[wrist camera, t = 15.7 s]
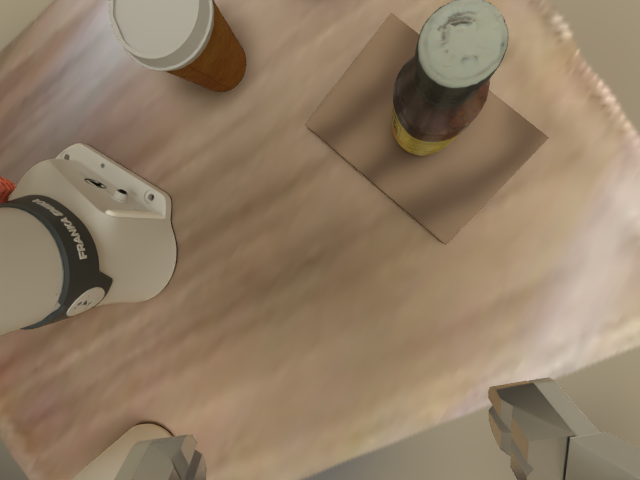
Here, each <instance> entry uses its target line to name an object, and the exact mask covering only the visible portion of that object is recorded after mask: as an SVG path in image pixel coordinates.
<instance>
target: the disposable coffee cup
mask: <svg viewBox="0 0 640 480" xmlns="http://www.w3.org/2000/svg"><path fill="white" fill-rule="evenodd" d="M109 14H110V22H111V25H112V28H113V31H114V33H115V35H116V37H117V39H118V40H119V42H120V43H121V44H122V45H123V47H124V49H125V51H126V52H127V53H128V55H129V56H130V57H131V58H132V59H133V60H134V61H136V62H137V63H138V64H140V65H141V66H143V67H146V68H149V69H151V70H156V71H166V72H169V73H171V74H174V75H176V76H179V77H181V78H184V79H186V80H188V81H191V82H193V83H196V84H198V85H201V86H203V87H206V88H208V89H210V90H213V91H217V92H225V91H228V90H230V89H232V88H234V87H235V86H236V85H237V84H238V83H239V82H240V81H241V79H242V77H243V75H244V73H245V68H246V57H245V53H244V51H243V48H242V47H241V45H240V44H239V42H238V41H237V39H236V37H235V35H234V34H233V32H232V30H231V29H230V27H229V26H228V24H227V22H226V21H225V19H224V17H223V16H222V14H221V12H220V11H219V9H218V7H217V6H216V4H215V2H214V1H213V0H109Z"/></svg>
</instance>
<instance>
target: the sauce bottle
mask: <svg viewBox="0 0 640 480" xmlns="http://www.w3.org/2000/svg"><path fill="white" fill-rule="evenodd" d="M507 46H508V28H507V25H506V23H505V20H504V18H503V16H502V15H501V13H500V12H499V10H498V9H497V8H496V7H495V6H493V5H492V4H491V3H489V2H486V1H484V0H455V1H452V2H450V3H448V4H446V5H444V6H442V7H440V8H439V9H438V10H437V11H435V12H434V13H433V14H432V15H431V16H430V18H429V19H428V20H427V21H426V23H425V24H424V26H423V27H422V29H421V32H420V35H419V38H418V42H417V45H416V50H415V56H413V57H412V58H411V59H409V60H408V61H407V62H406V63H405V64H404V66H403V67H402V69H401V70H400V72H399V73H398V75H397V78H396V80H395V83H394V88H393V99H392V100H393V116H392V118H393V119H392V127H393V133H394V136H395V139H396V141H397V142H398V144H399V145H400V146H401V147H402V148H403V149H405V150H406V151H407V152H409V153H411V154H415V155H419V156H425V155H431V154H434V153H437V152H439V151H440V150H442V149H443V148H445V147H446V146H447V145H448V144H449V143H451V142H452V141H453V140H454V139H455V138H456V137H457V136H459V135H460V134H461V133H462V132H463V131H464V130H465V129H466V128H467V127H468V126H469V125H470V124H471V123H472V121H473V120H474V119H475V118H476V117H477V115H478V114H479V113H480V111H481V109H482V108H483V106H484V104H485V102H486V100H487V96H488V90H489V85H490V81H489V79H490V78H491V76H492V75H493V74H494V72H495V71H496V70H497V68H498V67H499V65H500V63H501V62H502V60H503V57H504V55H505V52H506V49H507Z"/></svg>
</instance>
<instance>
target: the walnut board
mask: <svg viewBox="0 0 640 480" xmlns="http://www.w3.org/2000/svg"><path fill="white" fill-rule="evenodd" d="M418 38H419V34H418V33H416V32H415V31H414V30H413V29H411V28H410V27H409V26H408V25H406V24H405V23H404V22H402V21H401V20H400V19H399V18H397V17H396V16H395V15H394V14H392V13H391V14H390V15H389V17H388V18H387V19H386V21H385V22H384V23H383V24H382V26H381V27H380V28H379V30H378V31H377V32H376V33H375V35H374V36H373V37H372V39H371V40H370V41H369V42H368V44H367V45H366V46H365V48H364V49H363V50H362V51H361V53H360V54H359V55H358V57H357V58H356V59H355V60H354V62H353V63H352V64H351V66H350V67H349V68H348V69H347V71H346V72H345V73H344V75H343V76H342V77H341V78H340V80H339V81H338V82H337V84H336V85H335V86H334V87H333V89H332V90H331V91H330V93H329V94H328V95H327V97H326V98H325V99H324V100H323V102H322V103H321V104H320V106H319V107H318V108H317V109H316V111H315V112H314V113H313V115H312V116H311V117H310V118H309V120H308V121H307V122H306V124H305V125H306V126H307V127H308V128H309V129H311V130H312V131H313V132H314V133H315V134H316V135H318V136H319V137H320V138H321V139H322V140H323V141H325V142H326V143H327V144H328V145H329V146H330V147H332V148H333V149H334V150H335V151H336V152H337V153H339V154H340V155H341V156H342V157H343V158H344V159H346V160H347V161H348V162H349V163H350V164H351V165H353V166H354V167H355V168H356V169H357V170H358V171H360V172H361V173H362V174H363V175H364V176H365V177H367V178H368V179H369V180H370V181H371V182H372V183H374V184H375V185H376V186H377V187H378V188H379V189H381V190H382V191H383V192H384V193H385V194H386V195H388V196H389V197H390V198H391V199H392V200H393V201H395V202H396V203H397V204H398V205H399V206H400V207H402V208H403V209H404V210H405V211H406V212H407V213H409V214H410V215H411V216H412V217H413V218H414V219H416V220H417V221H418V222H419V223H420V224H422V225H423V226H424V227H425V228H426V229H427V230H429V231H430V232H431V233H432V234H433V235H434V236H436V237H437V238H438V239H439V240H440V241H441V242H443V243H444V244H445V245H446V244H447V243H448V242H449V241H450V240H451V239H452V238H453V237H454V236H455V235H456V234H457V233H458V232H459V231H460V229H461V228H462V227H463V226H464V225H465V224H466V223H467V222H468V221H469V220H470V219H471V218H472V217H473V216H474V215H475V214H476V213H477V212H478V211H479V210H480V209H481V208H482V207H483V206H484V205H485V204H486V203H487V201H488V200H489V199H490V198H491V197H492V196H493V195H494V194H495V193H496V192H497V191H498V190H499V189H500V188H501V187H502V186H503V185H504V184H505V183H506V182H507V181H508V180H509V179H510V178H511V177H512V176H513V174H514V173H515V172H516V171H517V170H518V169H519V168H520V167H521V166H522V165H523V164H524V163H525V162H526V161H527V160H528V159H529V158H530V157H531V156H532V155H533V154H534V153H535V152H536V151H537V150H538V149H539V148H540V146H541V145H542V144H543V143H544V142H545V141H546V140H547V139H548V138H549V137H547V136H546V135H545V134H544V133H542V132H541V131H540V130H538V129H537V128H536V127H535V126H533V125H532V124H531V123H530V122H528V121H527V120H526V119H525V118H523V117H522V116H521V115H520V114H518V113H517V112H516V111H515V110H513V109H512V108H511V107H510V106H508V105H507V104H506V103H504V102H503V101H502V100H501V99H499V98H498V97H497V96H496V95H494V94H493V93H492V92H491V91H489V90H488V96H487V100H486V102H485V104H484V106H483V108H482V109H481V111H480V113H479V114H478V115H477V117H476V118H475V119H474V120H473V121H472V123H471V124H470V125H469V126H468V127H467V128H466V129H465V130H464V131H463V132H462V133H461V134H460V135H459V136H457V137H456V138H455V139H454V140H453V141H452V142H451V143H449V144H448V145H447V146H446V147H445V148H443V149H442V150H440V151H439V152H437V153H434V154H431V155H425V156H419V155H415V154H411V153H409V152H407V151H406V150H405V149H403V148H402V147H401V146H400V145H399V144H398V142H397V141H396V139H395V136H394V133H393V127H392V119H393V118H392V116H393V100H392V99H393V88H394V83H395V80H396V78H397V75H398V73H399V72H400V70H401V69H402V67H403V66H404V64H405V63H406V62H407V61H408V60H409V59H411V58H412V57H413V56H415V50H416V45H417V42H418Z"/></svg>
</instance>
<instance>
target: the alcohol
mask: <svg viewBox="0 0 640 480" xmlns="http://www.w3.org/2000/svg"><path fill="white" fill-rule="evenodd" d="M166 437H172V436H171V434H170V433H169V432H168V431H167V430H165V429H164V428H162V427H160V426H158V425H155V424H140V425H136V426H134V427H132V428H131V429H129V430H128V431H127V432H126V433H125V434H123V435H122V436H121V437H120V438H119V439H118V440H116V441H115V442H114V443H113V444H112V445H111V446H109V447H108V448H107V449H106V450H105V451H104V452H102V453H101V454H100V455H99V456H98V457H97V458H95V459H94V460H93V461H92V462H91V463H90V464H89V465H87V466H86V467H85V468H84V469H83V470H82V471H80V472H79V473H78V474H77V475H76V476H75V477H73V478H72V479H71V480H114V479H115V477H116V475H117V473H118V472H119V470H120V468H121V466H122V464H123V462H124V461H125V459H126V457H127V455H128V453H129V451H130V449H131V448H132V446H133V445H135V444H136V443H137V442H138V441H145V440H152V439H158V438H166Z"/></svg>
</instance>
